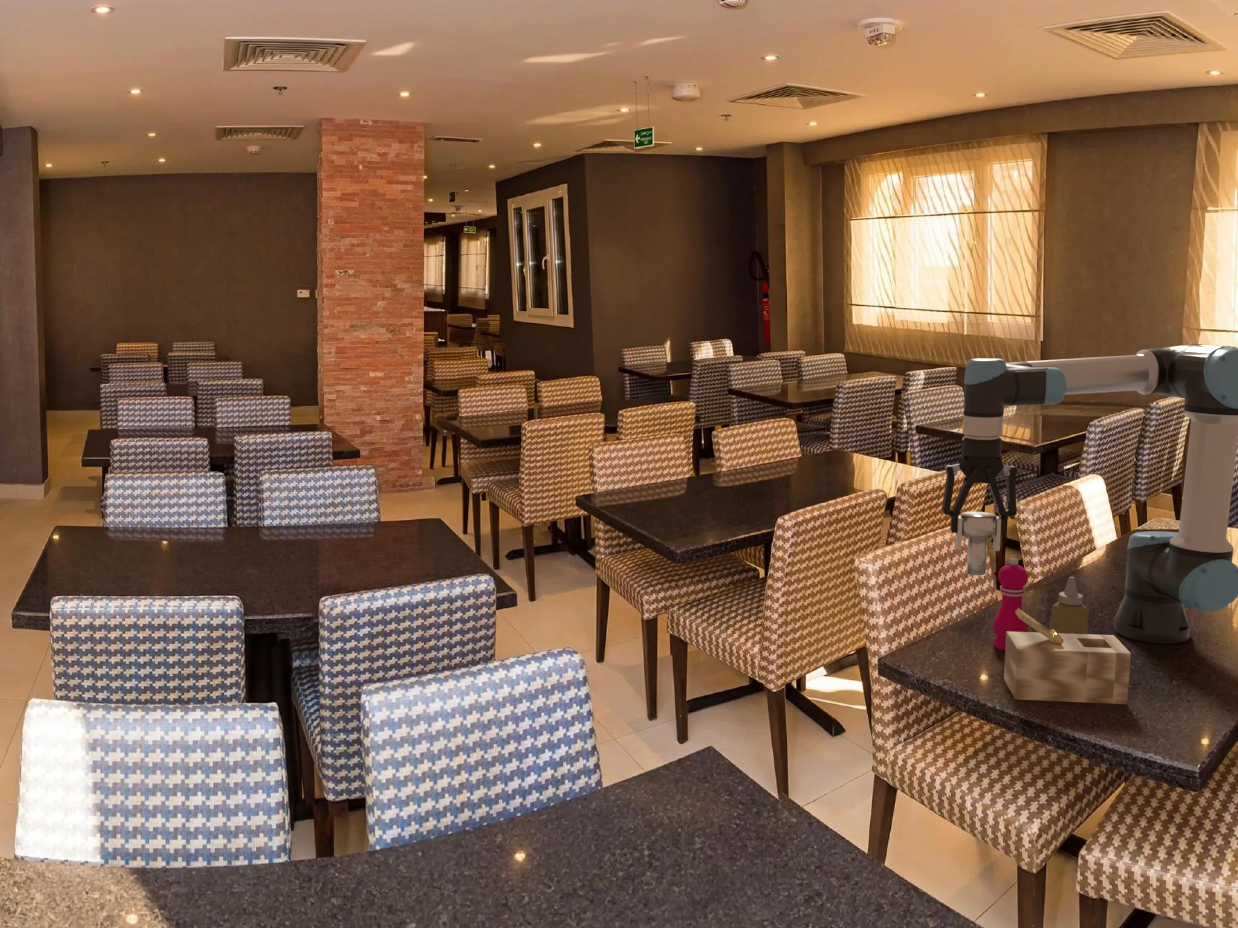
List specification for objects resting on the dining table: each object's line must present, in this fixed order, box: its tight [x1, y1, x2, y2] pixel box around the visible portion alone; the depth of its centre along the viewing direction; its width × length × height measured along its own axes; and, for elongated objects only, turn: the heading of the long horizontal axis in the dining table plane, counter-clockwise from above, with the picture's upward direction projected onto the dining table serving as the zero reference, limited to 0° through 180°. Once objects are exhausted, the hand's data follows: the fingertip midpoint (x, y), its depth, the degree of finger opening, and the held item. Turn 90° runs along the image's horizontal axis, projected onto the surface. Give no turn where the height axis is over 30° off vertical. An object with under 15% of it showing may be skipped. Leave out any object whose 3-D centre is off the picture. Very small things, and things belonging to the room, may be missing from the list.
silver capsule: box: [960, 510, 998, 576], centre depth 207 cm, size 7×7×12 cm
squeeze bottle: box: [1048, 576, 1089, 634], centre depth 211 cm, size 8×8×18 cm
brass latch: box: [1015, 608, 1063, 645], centre depth 196 cm, size 9×4×2 cm
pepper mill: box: [992, 557, 1029, 652], centre depth 220 cm, size 7×7×20 cm
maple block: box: [1003, 631, 1132, 705], centre depth 196 cm, size 20×10×10 cm, turn 81°
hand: (977, 548), depth 207 cm, fingers closed on silver capsule, 7 cm apart
